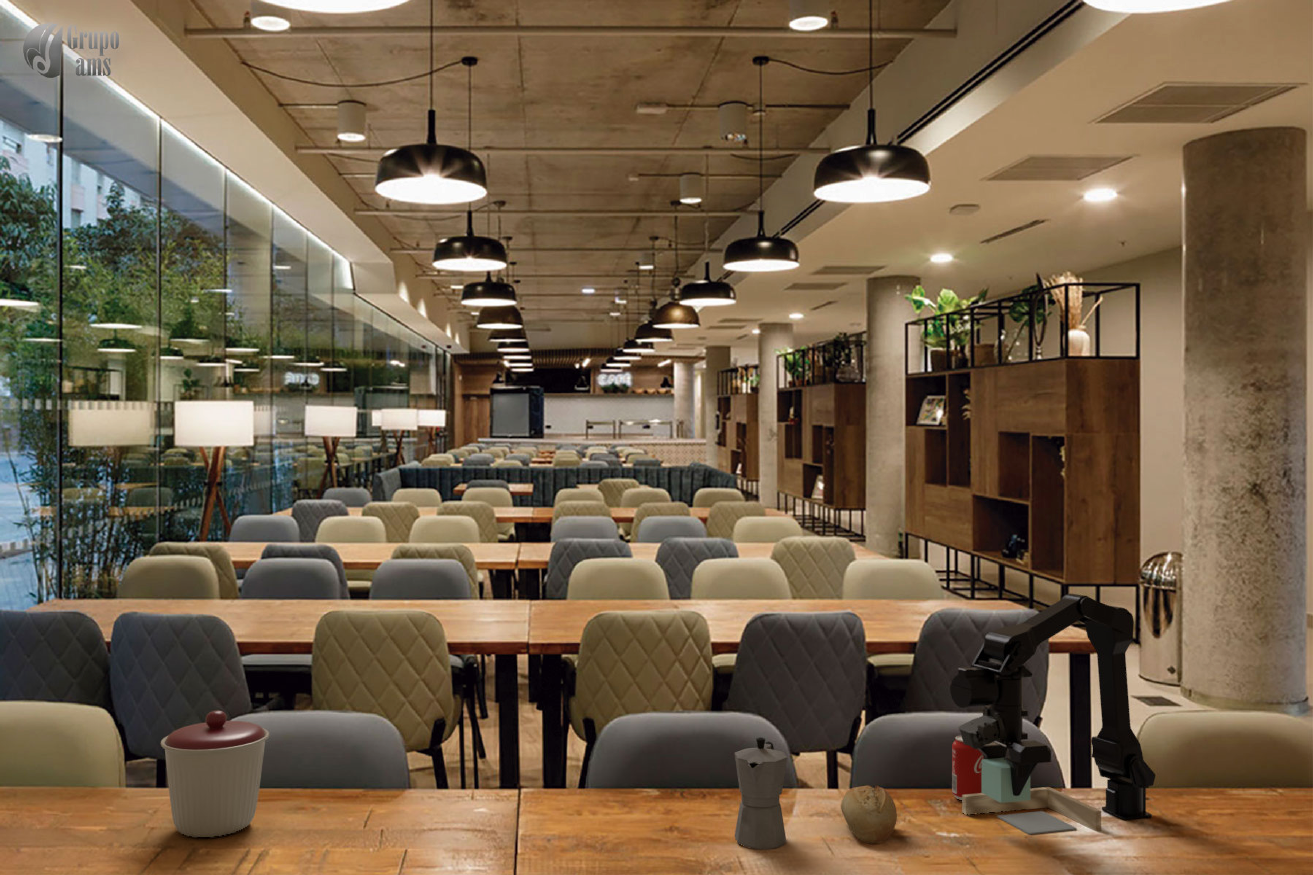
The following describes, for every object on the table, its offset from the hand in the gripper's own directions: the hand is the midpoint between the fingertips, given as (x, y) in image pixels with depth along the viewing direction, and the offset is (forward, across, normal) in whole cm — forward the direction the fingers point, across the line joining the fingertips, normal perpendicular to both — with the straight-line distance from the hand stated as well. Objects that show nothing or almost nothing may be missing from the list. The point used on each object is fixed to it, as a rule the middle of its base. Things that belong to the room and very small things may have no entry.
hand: (1005, 790), depth 195 cm
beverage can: (+8, -20, +5) cm, 22 cm away
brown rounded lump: (+8, -8, -23) cm, 26 cm away
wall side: (+8, -12, +8) cm, 17 cm away
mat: (+8, -4, +9) cm, 13 cm away
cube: (+1, 0, 0) cm, 1 cm away
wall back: (+8, -5, +18) cm, 20 cm away
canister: (+8, -41, -136) cm, 142 cm away
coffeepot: (+8, -10, -43) cm, 45 cm away
